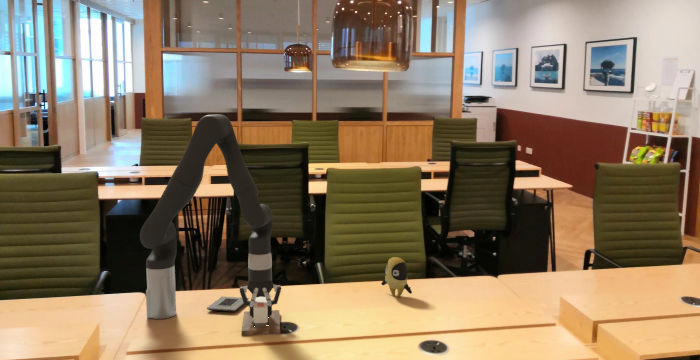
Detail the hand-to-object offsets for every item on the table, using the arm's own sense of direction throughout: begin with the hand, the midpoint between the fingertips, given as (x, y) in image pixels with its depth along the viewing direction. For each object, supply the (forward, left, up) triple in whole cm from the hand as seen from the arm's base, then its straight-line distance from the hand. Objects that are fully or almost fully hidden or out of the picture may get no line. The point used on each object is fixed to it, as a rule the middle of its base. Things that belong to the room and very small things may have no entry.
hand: (261, 316), depth 198 cm
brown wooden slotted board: (0, 0, -3) cm, 3 cm away
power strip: (0, 0, -2) cm, 2 cm away
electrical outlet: (-12, +19, -3) cm, 23 cm away
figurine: (+50, +23, -3) cm, 55 cm away
